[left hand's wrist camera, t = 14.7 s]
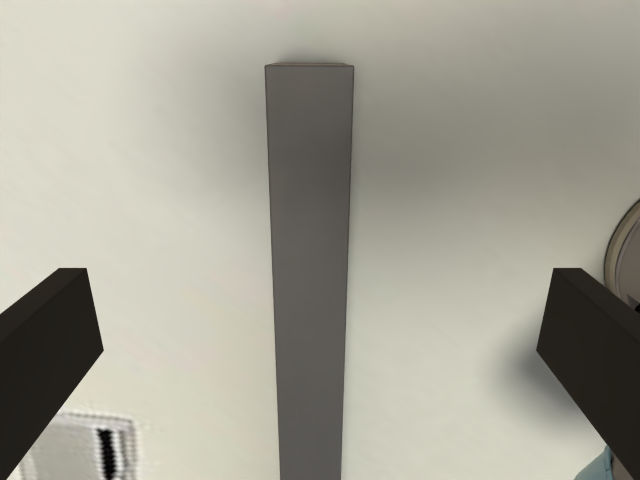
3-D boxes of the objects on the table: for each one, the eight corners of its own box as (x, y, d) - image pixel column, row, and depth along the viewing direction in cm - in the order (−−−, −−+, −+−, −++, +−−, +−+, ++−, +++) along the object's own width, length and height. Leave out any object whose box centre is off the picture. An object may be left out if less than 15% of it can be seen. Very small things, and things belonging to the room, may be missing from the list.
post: (275, 63, 32) (264, 64, 25) (344, 63, 33) (354, 65, 25) (292, 649, 60) (289, 733, 53) (329, 648, 60) (332, 733, 53)
